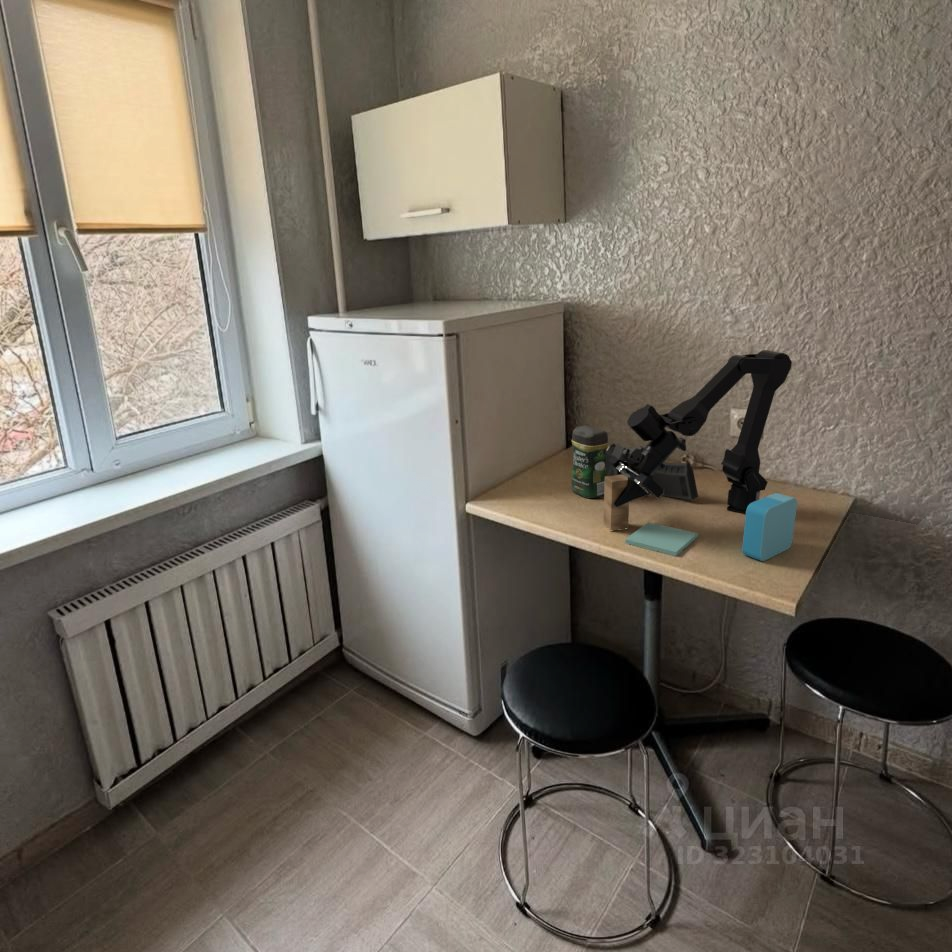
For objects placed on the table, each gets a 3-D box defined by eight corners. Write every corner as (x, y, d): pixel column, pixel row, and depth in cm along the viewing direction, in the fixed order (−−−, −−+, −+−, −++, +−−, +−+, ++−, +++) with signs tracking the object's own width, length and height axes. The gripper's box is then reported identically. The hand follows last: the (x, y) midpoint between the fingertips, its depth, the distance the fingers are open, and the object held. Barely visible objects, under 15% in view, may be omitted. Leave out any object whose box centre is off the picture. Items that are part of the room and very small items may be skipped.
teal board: (697, 537, 150) (697, 533, 150) (675, 556, 142) (676, 552, 141) (648, 525, 158) (648, 522, 157) (625, 543, 149) (625, 539, 149)
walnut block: (620, 522, 160) (622, 474, 156) (628, 529, 156) (630, 479, 152) (603, 525, 159) (604, 476, 155) (610, 531, 155) (612, 481, 151)
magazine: (709, 470, 167) (617, 420, 185) (702, 473, 165) (610, 422, 183) (687, 524, 176) (601, 471, 193) (681, 528, 174) (594, 474, 191)
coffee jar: (566, 491, 182) (566, 426, 176) (588, 485, 186) (589, 421, 180) (589, 501, 175) (590, 433, 169) (611, 495, 178) (613, 428, 172)
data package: (772, 541, 147) (778, 491, 143) (792, 547, 144) (798, 496, 140) (740, 556, 141) (746, 504, 137) (760, 563, 137) (766, 510, 133)
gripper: (616, 422, 160) (573, 470, 161) (654, 442, 142) (606, 495, 144) (644, 450, 164) (602, 496, 165) (684, 472, 147) (637, 524, 148)
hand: (611, 502), depth 155 cm, fingers closed on walnut block, 4 cm apart
